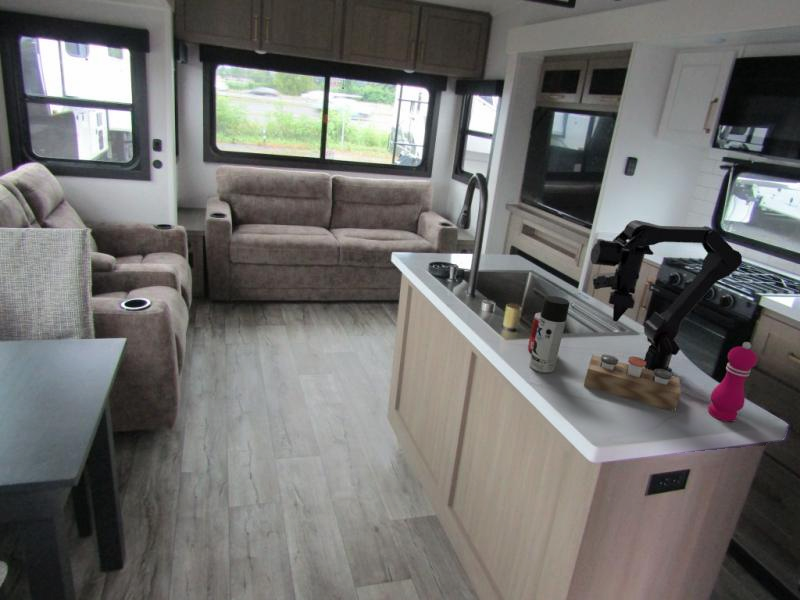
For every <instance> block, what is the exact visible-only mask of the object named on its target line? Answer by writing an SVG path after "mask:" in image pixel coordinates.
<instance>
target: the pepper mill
mask: <svg viewBox="0 0 800 600" xmlns="http://www.w3.org/2000/svg"><path fill="white" fill-rule="evenodd" d="M751 348H752V344H751V342H748V341H744V342H743V343H742V346H741V345H740V346H734V347H733V348H731V349H729V352H728V353H727V360H728V362H727V364H726V367H725V369H726V374H725V375H724V378H723V379H722V381H721V382H720V383H718V385H717V386H715V387H714V388H713V390H712V392H711V394H710V400H711V401H712V403H710V404H709V406H708V409H707V412H708V413H709V415H711V416H712V417H713V418H716V419H717V418H718V420H720V421H723V420H725V421H724V422H727V421H733V422H735V421H736V420H737V418H738V414H739V412H738V411H741V410H742V409H743V408H744V406H745V401H746V400H745V399H746V398H745V390H744V386H745V385H744V384H745V382H746V381H745V380H746V378H747V377H749V376H750V373H751V369H752V368H754V367H755V366H756V365H757V362H758V356H757V353H756V352H755V351H754V350H752V349H751ZM734 420H735V421H734Z"/></svg>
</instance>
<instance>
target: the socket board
mask: <svg viewBox="0 0 800 600" xmlns="http://www.w3.org/2000/svg"><path fill="white" fill-rule="evenodd" d="M629 364H630V363H625V362H621V361H618V363H617V364H616V365H614V369H613V370H610V369H606V368H603V367H601V365H602V361H601V356H598V355H595V354H592V355H591V357H590V361H589V364H588V367H587V371H586V375H585V379H584V382H583V386H584V387H587V388H591V389H595V390H598V391H601V392H605V393H608V394H612V395H615V396H619V397H622V398H626V399H630V400H633V401H637V402H640V403H643V404H647V405H650V406H654V407H658V408H661V409H664V410H667V411H670V412H676V410H677V407H678V406H677V405H678V403H679V400H680V396H681V393H682V392H681V391H680V385H681V382H680V377H678V376H674V375H672V377H671V379H669V380H668V384H667V385H665V384H661V383H658V382H654V381H653V380H654V377H655V375H654V371H652V370H650V369H649V368H644V367H643V368H642V371H641V375H640V378H639V377H636V376H632V375H628V374H627V371H628V368H629Z"/></svg>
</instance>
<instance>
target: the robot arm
mask: <svg viewBox="0 0 800 600" xmlns="http://www.w3.org/2000/svg"><path fill="white" fill-rule="evenodd" d="M659 243H660V244H661V243H687V244H690V243H691V244H692V243H693V244H701V245H702V248H703V249H704V250H705V251H706V256H705V257H704V259H703V261H702V265H701V269H700V271H699V272H698V273H697V275H696V276H695V277H694V278H693V279H692V280H691V282H690V283H689V284H688V285H687V286H686V288H684V290H683V291H681V293H680V294H679V295H678V296H677V298H675V300H674V301H673V302H672V304H670V305H669V307H668V308H667V309H666V310H664V311H663V312H661V313H658V312H657V311H654V312H653V313H652V314H651V316H650V317H649V318H648V319H647V320H646V321H645V325H644V327H643V333H644V335H645V336H646V338H647V339H646V341H647V342H648V343H649V344H650V345H648V349H647V351H646V353H645V356H644V359H643V360H645V361H646V365H645V366H644V367H646V369H648V370H652V371H654V370H655V369H664V370H666V371H669V372H673V368H671V367H669V366H670V363H671V360H672V356H676V355H677V354H679V351H680V350H681V348H680V347H679V345H678V344H677V343H676V341H675V338H677V335H678V334H679V332H680V328H681V324H682V322H683V321H684V319H685V318H686V317H687V316H688V314H689V313H690V312H691V311H692V310H693V309H695V307H696V305H697V304H698V303H700V301H701V300H702V299H703V298H704V297H705V295H707V293H708V292H709V291H710V290H711V289H712V287H713V286H714V285H716V283H717V282H718V281H721V280H723V279H725V278H727V277H729V276H730V275H732V274H733V273H734V272H735V271H736V270H738V269H739V268H740V266H741V265H742V264H743V256H742V254H741V252H740V251H737V250H735V248H733V247H732V246H731V245H730V244H729V242H727V241H726V240H725V239H724V238H723V237H722V236H721V234H720V233H719V231H718V230H716V229H714V228H712V227H710V226H707V225H706V226H678V225H677V226H676V225H674V226H672V225H671V226H670V225H659V224H654V223H650V222H647V221H642V220H639V219H638V220H635V219H634V220H631V221H629V222H628V223H627V224H626V225H625V227H624V229H623V230H622V231H621V232H620V233H619V234H617V236H616V237H614V238H613V240H612V241H611V240H605V239H603V238H602V239H601V238H598V239H597V241H596V243H595V244H594V246H593V247H592V249H591V252H590V262H591V264H592V265H600V266H604V267H605V266H607V267H615V271H614V272H604V273H596V274H592V285H593V289H594V290H600V289H604V288H605V289H606V288H610V289H611V290H613V291H612V292H611V291H610V292H609V298H608V304H609V305H613V310H612V311H613V313H612V321H613V322H615V323H616V322H619V320H620V319H621V317H623V315H624V314H625V313H626V312H627V310H629V309H634V306H635V302H636V298H635V296H634V295H633V294H636V287H637V283H638V280H639V278H640V273H641V269H642V265H643V262H644V258H645V255H649V256H650V255H651V256H653V255H654V252H653V250H652V249H651V247H650V246H654V245H657V244H659ZM616 266H617V268H616Z"/></svg>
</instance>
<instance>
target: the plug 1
mask: <svg viewBox="0 0 800 600" xmlns="http://www.w3.org/2000/svg"><path fill="white" fill-rule="evenodd" d="M600 357H601V361H602V365H601V367H603V368H606V369H610V370H613V369H614V365H616V364H617V363H618V362H619V359H618V358H617V357H616V356H613V355H609V354H602V355H601V356H600Z"/></svg>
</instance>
